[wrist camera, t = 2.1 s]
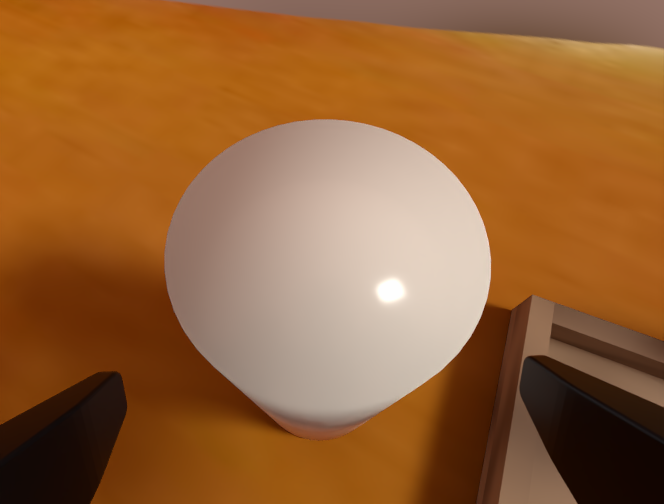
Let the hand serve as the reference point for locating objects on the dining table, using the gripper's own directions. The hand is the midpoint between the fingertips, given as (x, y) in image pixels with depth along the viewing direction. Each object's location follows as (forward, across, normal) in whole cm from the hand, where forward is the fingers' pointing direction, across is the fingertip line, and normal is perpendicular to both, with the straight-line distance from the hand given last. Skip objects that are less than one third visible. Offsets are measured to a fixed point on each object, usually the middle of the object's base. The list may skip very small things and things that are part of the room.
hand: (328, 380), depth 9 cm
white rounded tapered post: (+8, 0, +5) cm, 10 cm away
